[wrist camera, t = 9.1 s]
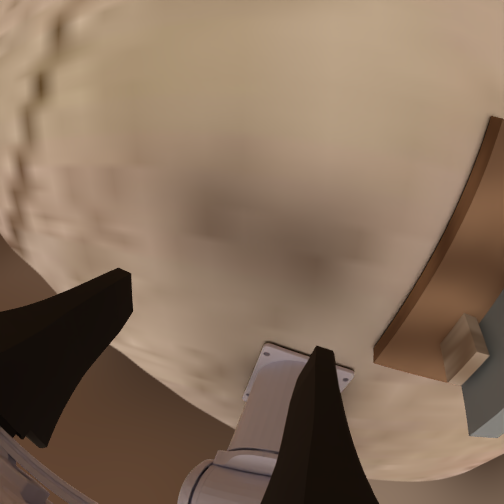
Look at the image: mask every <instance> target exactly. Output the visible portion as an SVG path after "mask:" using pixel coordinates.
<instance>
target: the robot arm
mask: <svg viewBox="0 0 504 504" xmlns="http://www.w3.org/2000/svg"><path fill="white" fill-rule="evenodd" d="M132 312H133V303H132V283H131V273H129V272H127V271H125V270H122V269H120V268H117V269H115V270H112V271H110V272H107V273H105V274H103V275H101V276H99V277H96V278H94V279H92V280H90V281H88V282H85V283H83V284H81V285H79V286H76V287H74V288H72V289H70V290H67V291H65V292H62V293H60V294H57V295H55V296H53V297H50V298H48V299H45V300H42V301H39V302H36V303H33V304H30V305H27V306H23V307H20V308H16V309H11V310H7V311H3V312H0V504H53V503H52V502H50V501H49V500H47V498H48V496H49V492H48V491H47V490H46V489H44V488H43V487H42V486H41V485H40V484H39V483H38V482H37V481H35V480H34V479H33V478H32V477H30V476H29V475H28V474H26V473H25V472H24V471H22V470H21V469H19V468H18V467H17V466H16V461H17V462H18V463H19V464H20V465H21V466H22V467H23V468H25V469H26V470H27V471H28V472H29V473H30V474H32V475H33V476H34V477H35V478H37V480H39V481H40V482H41V483H42V484H44V485H45V486H46V487H47V488H49V489H50V490H51V491H53V492H54V493H55V494H57V495H58V496H59V497H61V498H62V499H63V500H65V501H66V502H68V503H69V504H98V503H97V502H95V501H93V500H91V499H90V498H89V497H87V496H85V495H84V494H82V493H81V492H79V491H78V490H76V489H75V488H73V487H72V486H70V485H69V484H67V483H66V482H65V481H64V480H62V479H61V478H60V477H58V476H57V475H56V474H54V473H53V472H51V471H50V470H49V469H48V468H46V467H45V466H44V465H43V464H41V463H40V462H39V461H38V460H37V459H35V458H34V457H33V456H32V455H31V454H29V453H28V452H27V451H26V450H25V449H24V448H23V447H21V446H20V445H19V444H18V443H17V442H16V441H15V440H14V439H13V437H14V436H15V435H17V436H19V437H20V438H21V439H24V438H25V436H26V437H27V438H28V439H30V440H31V441H32V442H33V443H34V444H35V445H36V446H38V447H39V448H45V447H47V446H48V443H49V440H50V438H51V435H52V433H53V431H54V428H55V426H56V424H57V422H58V419H59V417H60V415H61V413H62V411H63V409H64V407H65V405H66V404H67V402H68V400H69V399H70V397H71V395H72V393H73V392H74V390H75V388H76V386H77V385H78V384H79V382H80V380H81V379H82V377H83V376H84V374H85V373H86V372H87V370H88V369H89V368H90V367H91V365H92V364H93V363H94V362H95V361H96V359H97V358H98V357H99V356H100V355H101V353H102V352H103V351H104V350H105V349H106V347H107V346H108V345H109V344H110V343H111V342H112V340H113V339H114V338H115V337H116V336H117V334H118V333H119V332H120V331H121V329H122V328H123V326H124V325H125V323H126V322H127V320H128V319H129V317H130V315H131V314H132ZM267 352H268V353H267ZM353 378H354V371H352V370H350V369H347V368H343V367H340V366H337V365H336V364H335V356H334V352H333V351H332V350H328V349H325V348H322V347H319V346H316V347H315V349H314V351H313V353H312V354H311V356H310V357H308V356H305V355H302V354H299V353H296V352H293V351H290V350H288V349H285V348H282V347H279V346H276V345H273V344H270V343H266V344H264V346H263V348H262V351H261V353H260V356H259V358H258V361H257V363H256V365H255V368H254V370H253V373H252V375H251V378H250V380H249V383H248V385H247V387H246V390H245V392H244V394H243V397H242V399H243V400H244V401H246V404H245V407H244V410H243V412H242V415H241V417H240V420H239V422H238V425H237V427H236V430H235V432H234V435H233V438H232V440H231V442H230V445H229V447H228V450H227V451H222V450H218V452H217V454H216V457H215V459H214V460H211V459H208V460H205V461H203V462H201V463H200V464H199V465H198V466H196V467H195V468H194V469H192V471H191V472H190V473H189V474H188V476H187V477H186V479H185V481H184V483H183V485H182V487H181V490H180V493H179V497H178V504H379V502H378V501H377V499H376V497H375V495H374V493H373V491H372V488H371V486H370V484H369V482H368V480H367V478H366V475H365V473H364V471H363V468H362V466H361V463H360V461H359V458H358V455H357V452H356V450H355V447H354V444H353V440H352V437H351V434H350V430H349V427H348V423H347V419H346V415H345V411H344V407H343V402H342V398H341V392H342V391H343V390H344V389H345V387H346V386H347V385H348V384H349V383H350V381H351V380H352V379H353Z"/></svg>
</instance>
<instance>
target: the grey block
mask: <svg viewBox="0 0 504 504" xmlns="http://www.w3.org/2000/svg"><path fill="white" fill-rule="evenodd" d="M479 326H480V329H481V332H482V335H483V337H484V340H485V343H486V346H487V349H488V352H489V355H490V356H489V357H488V358H487V359H486V360H485V361H484V362H483V364H482V365H481V366H480V367H479V368H478V369H477V370H476V371H475V372H474V373H473V374H472V375H471V376H470V377H469V378H468V379H467V380H466V381H465V382H464V383H463V384H462V385H461V386H462V392H463V397H464V403H465V409H466V416H467V423H468V432H469V436H475V437H489V438H498V437H500V436H501V435H502V434H504V289H503V291H502V292H501V294H500V295H499V297H498V298H497V299H496V301H495V302H494V304H493V305H492V307H491V308H490V309H489V311H488V312H487V314H486V315H485V316H484V318H483V319H482V320H481V322H480V323H479Z"/></svg>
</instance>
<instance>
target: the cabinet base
mask: <svg viewBox="0 0 504 504" xmlns="http://www.w3.org/2000/svg"><path fill="white" fill-rule="evenodd" d="M503 289H504V119H502V118H498V117H493V116H491V119H490V122H489V125H488V128H487V131H486V134H485V137H484V140H483V143H482V146H481V149H480V152H479V155H478V157H477V160H476V163H475V165H474V168H473V170H472V173H471V175H470V178H469V180H468V183H467V185H466V187H465V190H464V192H463V194H462V197H461V199H460V201H459V203H458V206H457V208H456V210H455V212H454V214H453V216H452V218H451V220H450V222H449V225H448V227H447V229H446V231H445V233H444V235H443V237H442V238H441V240H440V242H439V244H438V246H437V248H436V250H435V252H434V254H433V255H432V257H431V259H430V261H429V263H428V264H427V266H426V268H425V270H424V272H423V273H422V275H421V277H420V278H419V280H418V282H417V283H416V285H415V287H414V288H413V290H412V292H411V293H410V295H409V297H408V298H407V300H406V301H405V303H404V305H403V306H402V308H401V309H400V311H399V312H398V314H397V315H396V317H395V318H394V320H393V321H392V323H391V324H390V326H389V327H388V329H387V330H386V332H385V333H384V334H383V336H382V337H381V339H380V340H379V342H378V343H377V344H376V346H375V347H374V363H375V364H379V365H382V366H386V367H389V368H393V369H396V370H400V371H404V372H407V373H411V374H415V375H419V376H423V377H427V378H430V379H434V380H438V381H443V382H447V383H449V384H453V385H457V386H461V385H462V384H463V383H464V382H465V381H466V380H467V379H468V378H469V377H470V376H471V375H472V374H473V373H474V372H475V371H476V370H477V369H478V368H479V367H480V366H481V365H482V364H483V362H484V361H485V360H486V359H487V358H488V357H489V356H490V355H489V352H488V349H487V346H486V343H485V340H484V337H483V335H482V332H481V329H480V326H479V323H480V322H481V320H482V319H483V318H484V316H485V315H486V314H487V312H488V311H489V309H490V308H491V307H492V305H493V304H494V302H495V301H496V299H497V298H498V297H499V295H500V294H501V292H502V291H503Z"/></svg>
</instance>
